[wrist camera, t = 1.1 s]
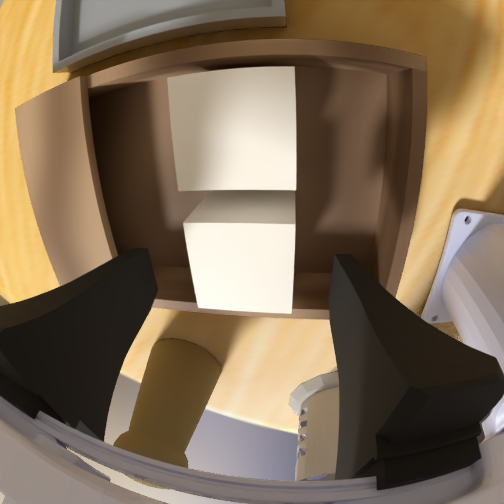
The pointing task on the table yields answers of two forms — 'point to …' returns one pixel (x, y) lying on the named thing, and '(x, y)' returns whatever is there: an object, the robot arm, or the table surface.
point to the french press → (317, 426)
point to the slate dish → (147, 24)
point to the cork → (170, 402)
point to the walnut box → (184, 202)
